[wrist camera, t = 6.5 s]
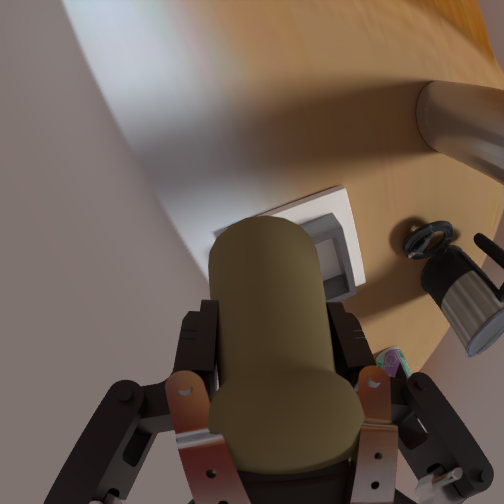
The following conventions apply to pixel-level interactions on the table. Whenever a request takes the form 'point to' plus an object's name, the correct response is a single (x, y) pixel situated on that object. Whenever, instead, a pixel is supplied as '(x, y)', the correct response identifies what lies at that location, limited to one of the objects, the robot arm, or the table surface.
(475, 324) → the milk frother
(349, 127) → the table surface
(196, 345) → the robot arm
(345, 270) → the socket collar
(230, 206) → the table surface
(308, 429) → the cork
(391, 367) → the spray can
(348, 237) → the socket base
